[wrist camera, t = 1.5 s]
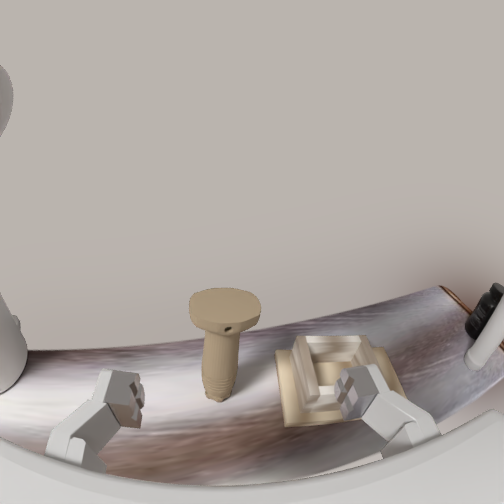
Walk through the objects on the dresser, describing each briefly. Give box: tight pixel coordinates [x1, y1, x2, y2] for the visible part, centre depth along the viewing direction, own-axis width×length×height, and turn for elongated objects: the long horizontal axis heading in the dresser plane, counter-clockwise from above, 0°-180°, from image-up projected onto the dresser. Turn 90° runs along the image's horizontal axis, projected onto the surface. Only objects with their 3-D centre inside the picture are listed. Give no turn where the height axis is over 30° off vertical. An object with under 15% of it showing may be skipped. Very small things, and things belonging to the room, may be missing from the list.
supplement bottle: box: [465, 283, 504, 340], centre depth 43 cm, size 7×7×12 cm
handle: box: [189, 288, 261, 402], centre depth 29 cm, size 5×6×15 cm
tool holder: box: [274, 335, 407, 427], centre depth 34 cm, size 18×12×6 cm, turn 93°
